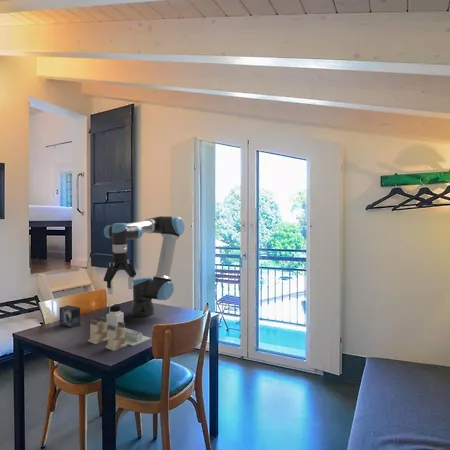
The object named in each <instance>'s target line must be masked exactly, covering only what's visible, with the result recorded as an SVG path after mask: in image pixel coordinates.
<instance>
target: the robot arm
mask: <svg viewBox="0 0 450 450" xmlns="http://www.w3.org/2000/svg"><path fill="white" fill-rule="evenodd" d="M184 232H185V222H184V220H183V218H182V217H180V216H176V215H175V216H173V215H172V216H170V215H169V216H167V215H166V216H164V215H163V216H155V217H151V218H145V219H144V220H142V221H134V222H129V223H126V222H116V223H113V224H110V225H106V226H105V227H104V229H103V235H104V236H105V238H107V239H110V240H111V239H112V241H111V242H112V260H113V262H108V263H107V269H106V272H105V274H104V277H103V282H106V288H107V291H108V292H107V294H108V295H114V289H113V288H114V285H113V280H114V278H115V275H116V274H117V272H118V271H120V270H121V271H122V270H124V271H125V272H126V274H127V275H128V277H127V284H128V285H127V286H128V289H129V290H132V300H133V301H132V305H131V308H130V316H133V317H141V318H143V317H149V316H152V315H154V314H155V308H154V305H153V301H152V300H157V301H167V300H169V299H170V298H171V297H172V296H173V294H174V290H175V286H174V283H173V282H172V278H171V273H172V272H171V270H172V266H173V260H174V255H175V254H174V253H175V251H176V250H175V249H176V243H177V240H179V239H180V236H181V235H183V234H184ZM144 233H145V234H161V237H162V241H161V242H162V243H161V248H160V251H159V252H160V253H159V257H158V264H157V269H156V274H155V275H153V276H152V277H151V276H145V277H137V278H135V277H136V276H137V272H136V270H135V268H134V265H133V263H132V259H128V241H130V240H137V239H140V238H141V237H142V236H143V234H144ZM134 278H135V279H134Z"/></svg>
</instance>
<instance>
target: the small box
mask: <svg viewBox="0 0 450 450" xmlns="http://www.w3.org/2000/svg"><path fill="white" fill-rule="evenodd" d="M58 308H59V309H58V310H59V326H61V327H66V328H70V329H74V328H77V327H80V326H81V307H79V306H75V305H71V304H70V305H69V304H68V305H63V306H62V307H58Z"/></svg>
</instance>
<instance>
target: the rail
mask: <svg viewBox="0 0 450 450" xmlns="http://www.w3.org/2000/svg"><path fill="white" fill-rule="evenodd" d="M113 326H115V327H117V325H113ZM142 335H143V332H142V331H141V332H140V331H137V330H133V329H131V328H127V327H125V338H127V339H130V340H133V341H136V342H138V341H140V340H142Z"/></svg>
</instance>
